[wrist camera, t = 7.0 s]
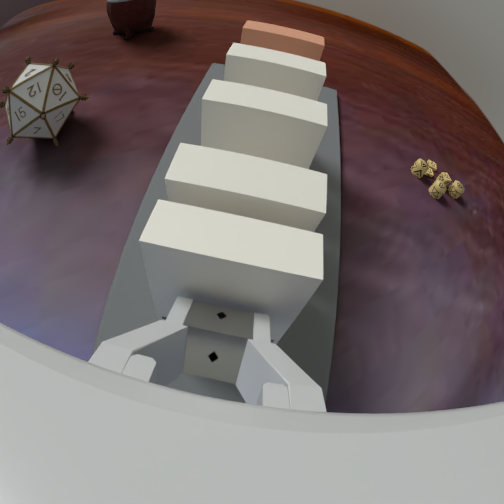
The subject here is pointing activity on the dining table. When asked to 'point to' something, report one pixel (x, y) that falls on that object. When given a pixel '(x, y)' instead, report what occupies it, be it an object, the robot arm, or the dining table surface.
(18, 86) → the game die
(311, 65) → the domino
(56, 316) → the dining table surface
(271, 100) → the domino
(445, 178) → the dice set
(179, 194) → the domino
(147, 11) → the mate gourd
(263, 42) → the domino
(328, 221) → the mat
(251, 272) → the domino
